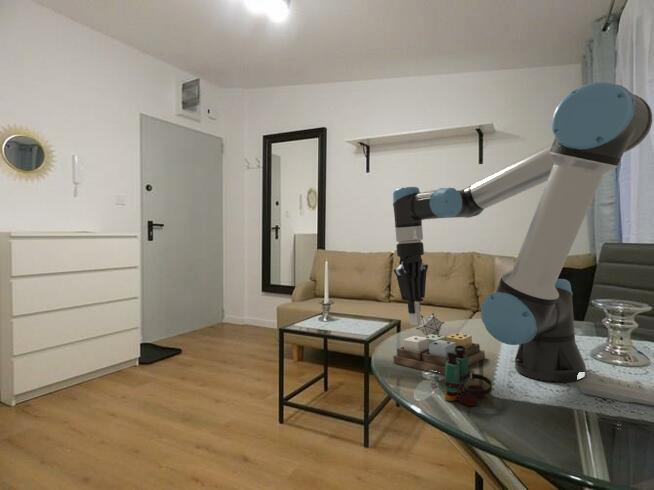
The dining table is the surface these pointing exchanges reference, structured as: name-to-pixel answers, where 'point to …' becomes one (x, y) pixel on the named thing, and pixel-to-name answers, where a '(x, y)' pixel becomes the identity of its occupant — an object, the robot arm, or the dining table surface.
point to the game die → (430, 325)
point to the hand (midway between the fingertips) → (415, 324)
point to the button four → (460, 340)
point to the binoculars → (462, 379)
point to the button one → (416, 344)
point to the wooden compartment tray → (434, 358)
